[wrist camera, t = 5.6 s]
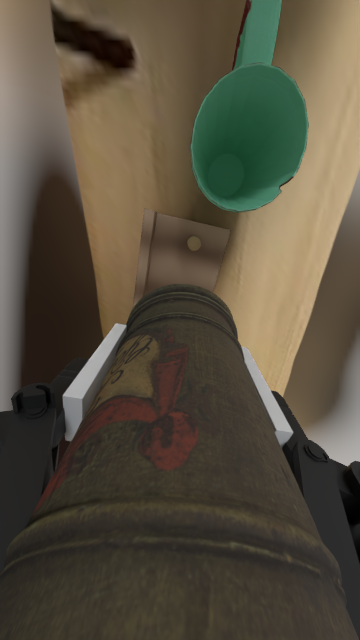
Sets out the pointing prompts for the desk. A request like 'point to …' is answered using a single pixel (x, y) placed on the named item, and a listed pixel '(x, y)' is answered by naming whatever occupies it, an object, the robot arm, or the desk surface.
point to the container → (173, 504)
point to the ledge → (178, 253)
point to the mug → (250, 121)
